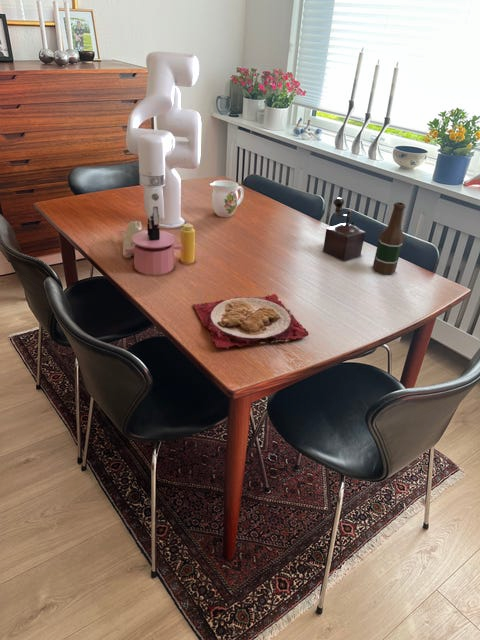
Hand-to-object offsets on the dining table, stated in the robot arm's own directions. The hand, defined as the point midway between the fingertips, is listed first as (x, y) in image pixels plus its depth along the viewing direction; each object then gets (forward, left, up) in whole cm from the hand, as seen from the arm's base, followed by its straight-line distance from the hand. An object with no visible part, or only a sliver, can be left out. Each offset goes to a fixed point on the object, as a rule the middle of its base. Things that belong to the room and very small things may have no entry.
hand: (153, 237), depth 154 cm
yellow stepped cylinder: (-3, +12, -10) cm, 16 cm away
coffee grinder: (-4, +69, -11) cm, 69 cm away
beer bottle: (+14, +78, -11) cm, 80 cm away
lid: (0, 0, -1) cm, 1 cm away
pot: (0, 0, -10) cm, 10 cm away
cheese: (-14, -5, -11) cm, 19 cm away
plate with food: (+38, +20, -11) cm, 44 cm away
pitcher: (-47, +38, -11) cm, 61 cm away
